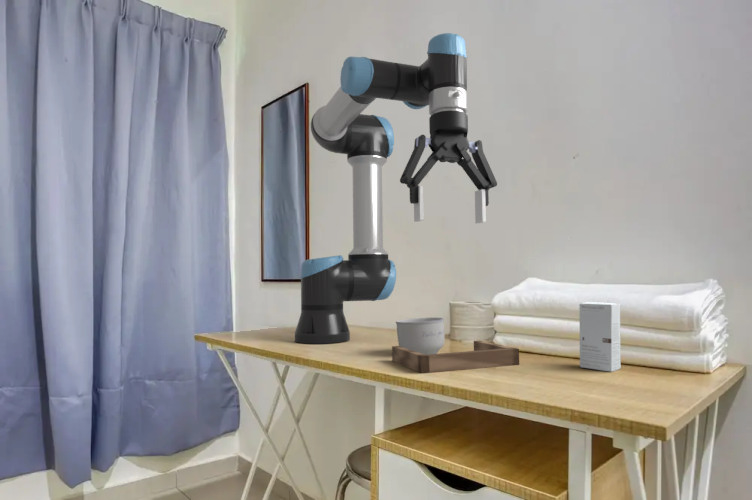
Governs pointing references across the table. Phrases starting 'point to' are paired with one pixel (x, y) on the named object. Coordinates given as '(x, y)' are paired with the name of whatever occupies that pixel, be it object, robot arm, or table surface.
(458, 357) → the brown wooden tray
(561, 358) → the table surface
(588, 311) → the skincare box
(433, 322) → the teacup
